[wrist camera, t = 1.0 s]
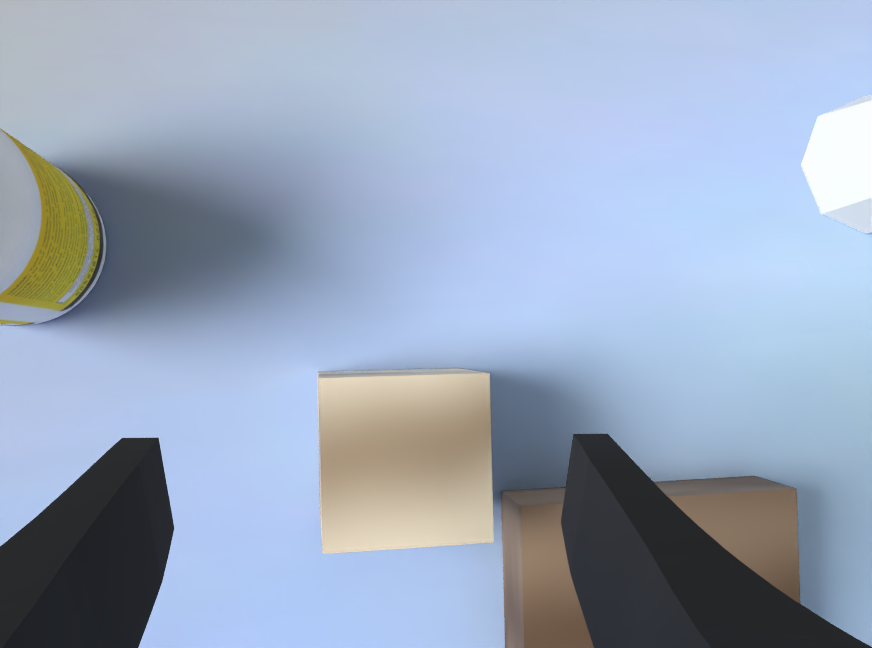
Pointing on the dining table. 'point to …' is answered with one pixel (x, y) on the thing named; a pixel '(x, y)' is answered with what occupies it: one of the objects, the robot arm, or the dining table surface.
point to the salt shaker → (843, 164)
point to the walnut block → (699, 499)
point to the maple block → (404, 459)
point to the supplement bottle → (44, 238)
